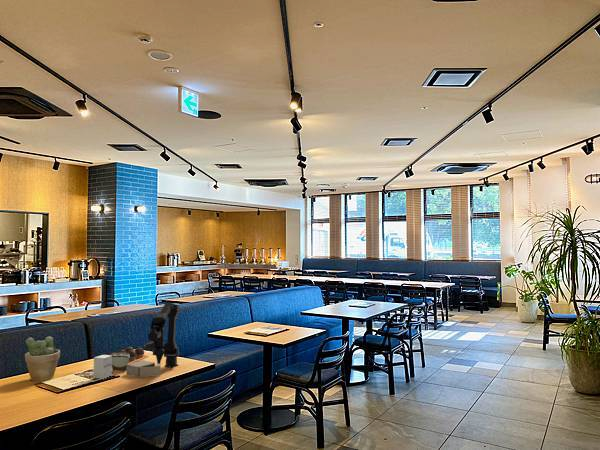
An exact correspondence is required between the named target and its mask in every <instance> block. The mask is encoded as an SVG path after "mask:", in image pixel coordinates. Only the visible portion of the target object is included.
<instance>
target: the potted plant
mask: <svg viewBox="0 0 600 450" xmlns="http://www.w3.org/2000/svg"><path fill="white" fill-rule="evenodd" d="M25 343H26V344H25V345H26V346H27V348H28V352H26V353H25V354H24V359H25V363H26V367H27V370H28V374H29V378H30V379H31V381H32V382H46V381H49V380H52V379H53V378H54V377H55V372H56V369H57V368H58V367H57V366H58V364H59V363H58V362H59V359H60V355H61V350H60V349H57V348H55V347H54V345H55V344H54V337H52V336H46V337H45V339H44V340H43V339H42V340H35V339H34V338H33V337H28V338H27V339H26V340H25Z"/></svg>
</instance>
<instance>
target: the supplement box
mask: <svg viewBox="0 0 600 450" xmlns="http://www.w3.org/2000/svg"><path fill="white" fill-rule="evenodd" d="M112 373H113V371H112V356H111V355H109V354H101V355H98V356H95V357H94V356H93V376H92V377H93V378H99V379H98V380H101V379H103V380H105V379H108V378H110V377H109V376H111V377H112ZM107 377H108V378H107ZM104 378H105V379H104Z"/></svg>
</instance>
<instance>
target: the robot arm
mask: <svg viewBox="0 0 600 450" xmlns="http://www.w3.org/2000/svg"><path fill="white" fill-rule="evenodd" d="M180 310H181V306H180V305H178V304H176V303H173V302H165V303H164V304H163V307H162V309H161V310H160V312H159V313H158V314H156V315H154V316H153V318H152V320H151V324H150V328H149V329H150V330H151V331H150V332H149V333H148V334H147V338H148V340H149V341H150V342H148V343H145V344H144V345H143V347H144V348H143V349H144V351H145V352H147V351H149V350H152V356H155V357H156V363H157V362H158V364H160V362H161V361H162V359H163V357H164V358H165V365H164V367H167V368H174V367H178V366H179V364H178V361H177V359H178V358H179V356H180V351H179V348H178V344H177V342H176V328H177V327H176V323H177V317H179V313H180ZM167 318H168V324H167ZM166 324H167V326H168V328H167V341H166V342H165V327H166ZM161 363H162V362H161Z"/></svg>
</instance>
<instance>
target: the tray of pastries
mask: <svg viewBox="0 0 600 450" xmlns="http://www.w3.org/2000/svg"><path fill="white" fill-rule="evenodd" d="M115 353H129V355H130V358H129V361H128V364H130V363H134V362H138V361H142V360H146V359H148V358H149V355H145V348H143V347H139V346H138V347H136V348H135V349H134V348H133V347H132V346H128V347H127V346H126V348H124V349H121V348H120V349H119V350H117V352H115V351H114V352H110V353H109V354H108V355H112V354H115Z"/></svg>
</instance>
